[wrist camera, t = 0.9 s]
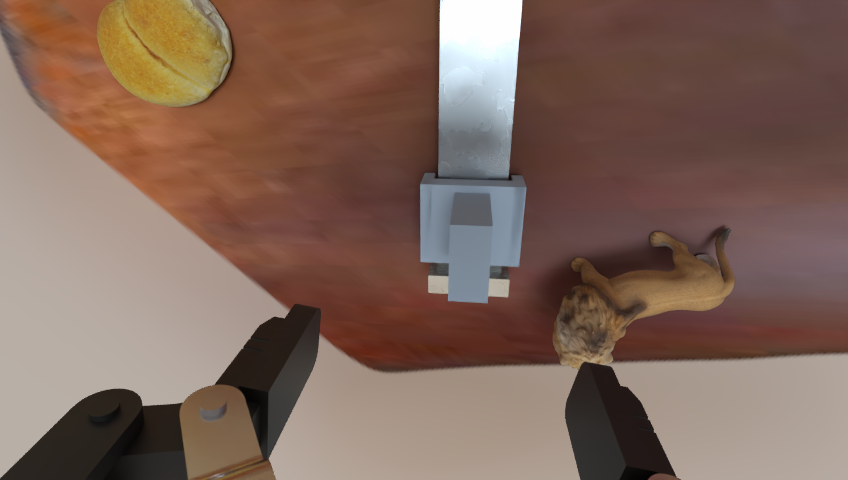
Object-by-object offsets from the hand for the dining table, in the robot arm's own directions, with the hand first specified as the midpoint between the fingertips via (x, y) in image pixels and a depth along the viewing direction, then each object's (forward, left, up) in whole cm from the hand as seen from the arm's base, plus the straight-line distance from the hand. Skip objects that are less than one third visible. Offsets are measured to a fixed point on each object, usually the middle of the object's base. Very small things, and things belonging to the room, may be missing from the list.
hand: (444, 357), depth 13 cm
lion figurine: (-13, +8, -22) cm, 27 cm away
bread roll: (+21, -9, -22) cm, 32 cm away
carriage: (-1, +3, -22) cm, 22 cm away
